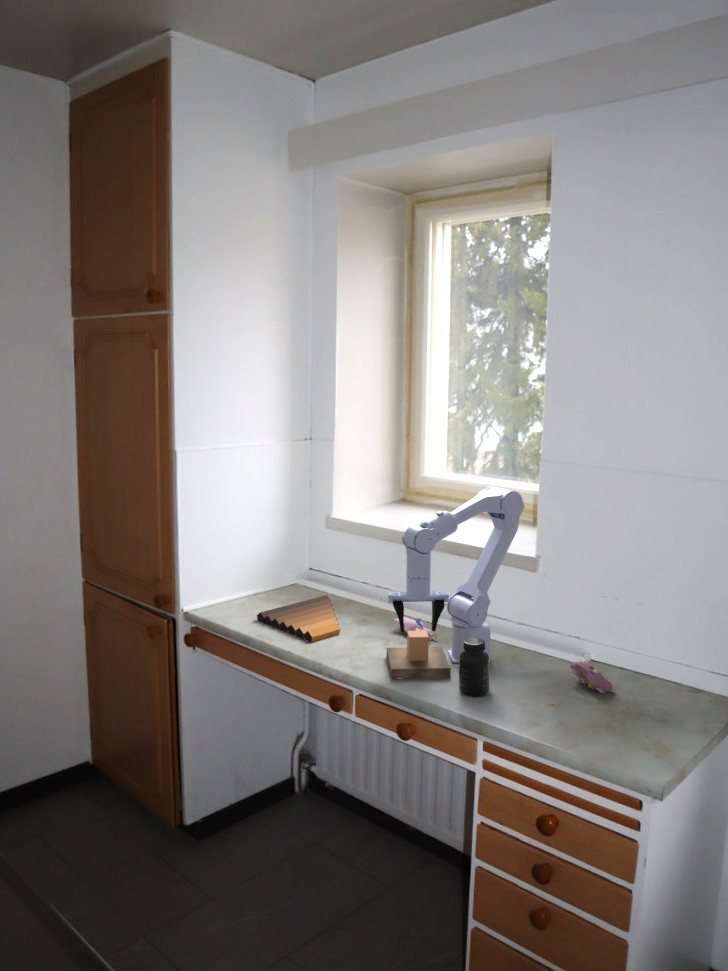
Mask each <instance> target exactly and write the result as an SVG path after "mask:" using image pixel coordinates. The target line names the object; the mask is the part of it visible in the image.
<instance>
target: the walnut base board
mask: <svg viewBox="0 0 728 971" xmlns="http://www.w3.org/2000/svg"><path fill="white" fill-rule="evenodd" d="M386 660H387V662H386V663H387V665H388V666H387V667H388V670H390V671H389V675H390V679H391V680H399V679H398V678H427V679H451V675H452V671H451V670H452V668H451V665H450V663H449V660H448V658H447V656H446V653H445V651H444V649H443V647H442V646H428V661H409V659H408V655H407V646H406V647H386Z"/></svg>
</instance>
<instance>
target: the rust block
mask: <svg viewBox="0 0 728 971" xmlns="http://www.w3.org/2000/svg"><path fill="white" fill-rule="evenodd" d="M406 634H407V635H406V636H407V637H406V638H407V639H406V641H407V642H406V643H407V646H406V647H407V655H408V659H409V661H428V647H429V637H428V634H427V632H426V631H407V633H406Z"/></svg>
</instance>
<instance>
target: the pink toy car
mask: <svg viewBox="0 0 728 971" xmlns="http://www.w3.org/2000/svg"><path fill="white" fill-rule="evenodd" d="M570 668H571V673H572V675H576V677H577V678H578V679H579V681H580V683H582V684H583V685H587V686H588V688H590V689H591V690H592V691H595V689H599V690H601V691H602V692H606V693H611V692H612V691H613V689H614V686H613V684H612V682H611V681H609V680H608V679H607V678H605V676H603V675H602V673H601V671H599V669H597V668H595V667H594V665H593V664H591V663H590V662H588V661H582V660H581V659H578V661H574V662H572V664H570Z"/></svg>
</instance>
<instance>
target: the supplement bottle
mask: <svg viewBox="0 0 728 971" xmlns="http://www.w3.org/2000/svg"><path fill="white" fill-rule="evenodd" d="M463 649H464V651H462V652H461V653H460V655H459V663H458V690H459V692H460V693H461V694H462V695H463V696H466V697H469V698H470V697H471V698H477V697H478V698H480V697H484V696H486V695H488V693H489V692H490V666H491V665H490V662H491V657H490V658H489V655H488V653H487V652H486V651H485V641H484V640H483V639H480V638H467V639H465V640H464V646H463Z"/></svg>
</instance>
